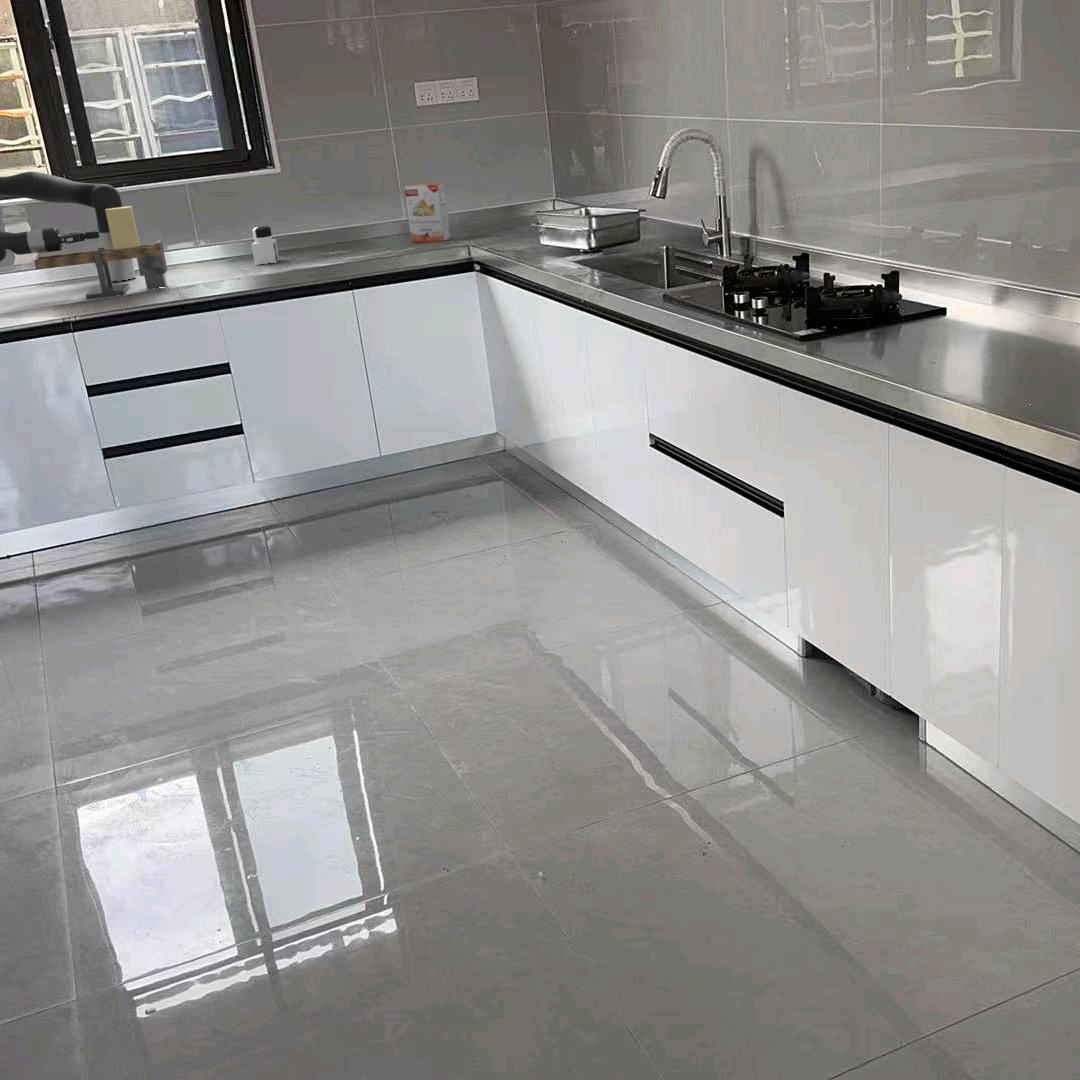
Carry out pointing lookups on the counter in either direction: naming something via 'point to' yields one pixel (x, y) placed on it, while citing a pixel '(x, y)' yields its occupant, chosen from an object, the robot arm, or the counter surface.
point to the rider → (122, 228)
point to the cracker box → (427, 212)
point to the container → (264, 246)
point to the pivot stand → (114, 290)
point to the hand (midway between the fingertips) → (98, 234)
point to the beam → (112, 258)
